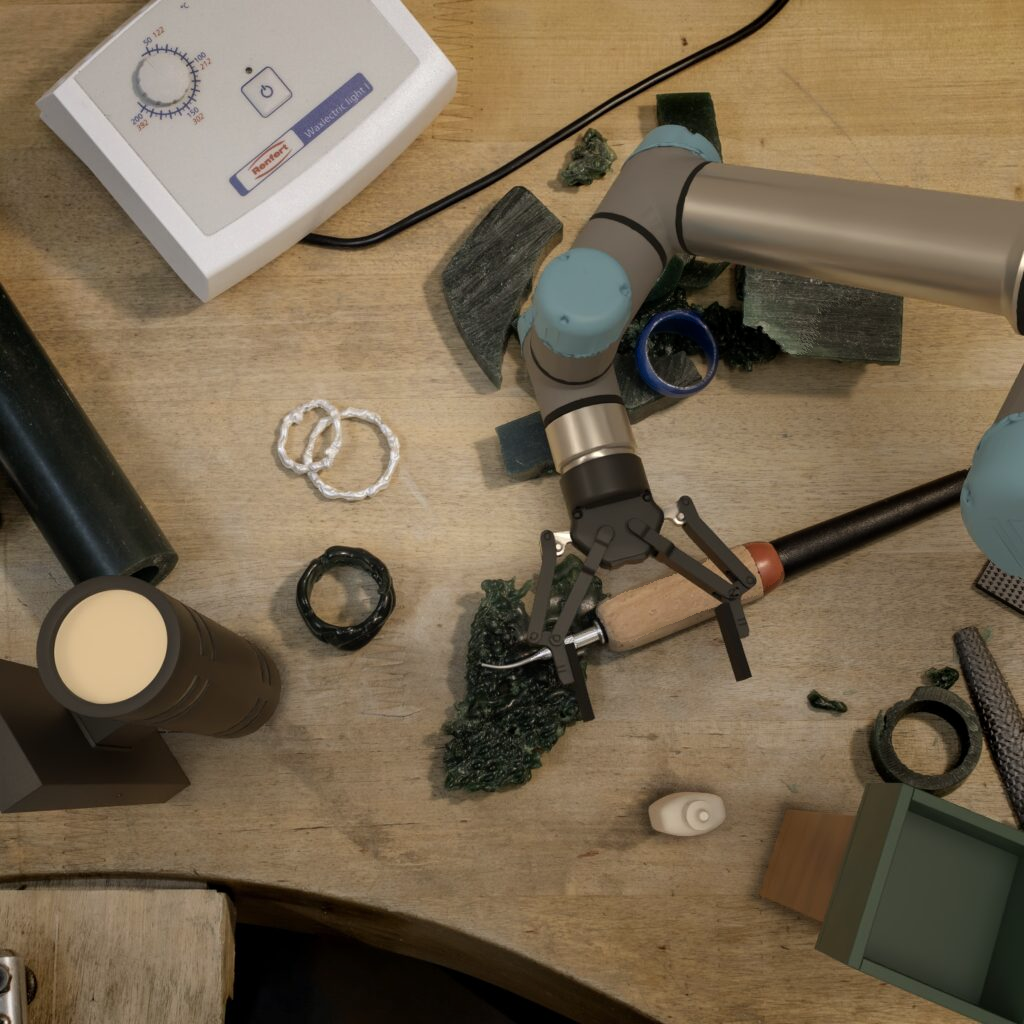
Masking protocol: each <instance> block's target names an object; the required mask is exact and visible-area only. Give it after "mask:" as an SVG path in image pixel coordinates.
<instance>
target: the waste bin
mask: <svg viewBox="0 0 1024 1024" xmlns="http://www.w3.org/2000/svg"><path fill="white" fill-rule="evenodd" d="M855 816H856V818H855V821H854V824H853V827H852V831H851V834H850V837H849V840H848V843H847V846H846V850H845V853H844V856H843V859H842V862H841V866H840V869H839V872H838V875H837V878H836V881H835V885H834V888H833V891H832V894H831V897H830V900H829V904H828V907H827V910H826V913H825V916H824V920H823V922H821V926H820V929H819V933H818V936H817V939H816V941H815V945H814V950H816V951H818V952H820V953H822V954H823V955H826V956H827V957H829V958H832V959H833V960H835V961H837V962H839V963H841V964H843V965H845V966H847V967H849V968H851V969H854V970H856V971H858V972H860V973H863V974H865V975H868V976H870V977H872V978H874V979H877V980H878V981H882V982H884V983H886V984H889V985H891V986H893V987H896V988H898V989H900V990H903V991H905V992H907V993H910V994H912V995H914V996H916V997H919V998H922V999H923V1000H926V1001H928V1002H930V1003H932V1004H935V1005H938V1006H939V1007H942V1008H945V1009H946V1010H949V1011H951V1012H954V1013H956V1014H958V1015H961V1016H964V1017H965V1018H968V1019H969V1020H973V1021H975V1022H977V1023H979V1024H1024V831H1021V830H1018V829H1017V828H1014V827H1012V826H1009V825H1007V824H1004V823H1002V822H1000V821H997V820H995V819H993V818H990V817H987V816H986V815H984V814H980V813H978V812H975V811H973V810H971V809H969V808H966V807H963V806H961V805H959V804H956V803H954V802H951V801H949V800H946V799H944V798H942V797H939V796H937V795H934V794H931V793H929V792H927V791H925V790H922V789H920V788H918V787H914V786H912V785H910V784H907V783H905V782H866V784H865V786H864V789H863V792H862V795H861V799H860V802H859V806H858V809H857V811H856V815H855Z"/></svg>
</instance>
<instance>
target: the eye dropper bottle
mask: <svg viewBox="0 0 1024 1024" xmlns="http://www.w3.org/2000/svg"><path fill="white" fill-rule="evenodd" d="M648 817H649V821H650V826H651V828H652V829H653V830H655V831H657V832H660V833H663V834H667V835H671V836H677V837H694V836H700V835H703V834H707V833H709V832H711V831H713V830H714V829H717V828H718V827H720V825H722V824H723V823H724V822H725V820H726V819H727V813H726V808H725V804H724V800H723V798H722V797H721V796H719V795H717V794H714V793H709V792H699V791H698V792H697V791H680V792H673V793H670V794H667V795H665V796H662V797H660V798H658V799H657V800H655V801H654V802H653V803H651V804H650V805H649V806H648Z"/></svg>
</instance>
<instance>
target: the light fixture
mask: <svg viewBox="0 0 1024 1024" xmlns="http://www.w3.org/2000/svg"><path fill="white" fill-rule="evenodd" d="M35 658H36V666H37V667H36V666H32V665H28V664H24V663H20V662H17V661H16V662H15V661H12V660H9V659H8V660H7V659H4V658H0V813H1V814H2V815H4V814H5V815H6V814H20V813H21V814H22V813H33V812H34V813H35V812H49V811H65V810H79V809H83V810H84V809H95V808H96V809H97V808H113V807H127V806H129V807H130V806H141V805H142V806H143V805H156V804H157V805H159V804H166V803H167V802H168V801H170V800H171V799H172V798H174V797H175V796H177V795H178V794H180V793H182V792H183V791H185V789H187V788H188V787H190V786H191V785H192V783H191V781H190V779H189V778H188V776H187V775H186V772H185V771H184V769H183V768H182V767H181V765H180V763H179V761H178V760H177V759H176V757H175V755H174V753H173V752H172V750H171V749H170V747H169V745H168V744H167V742H166V740H165V739H164V738H163V736H162V734H161V733H160V731H159V729H163V730H164V729H165V730H169V731H175V732H181V733H187V734H194V735H199V736H200V735H201V736H206V737H212V738H217V739H226V740H228V739H229V740H231V739H239V738H244V737H246V736H249V735H251V734H253V733H255V732H256V731H258V730H260V729H261V728H262V727H263V726H264V725H265V724H266V723H267V722H268V721H269V720H270V719H271V717H272V716H273V715H274V714H275V711H276V709H277V707H278V706H279V702H280V698H281V693H282V680H281V674H280V671H279V668H278V666H277V664H276V662H275V661H274V660H273V658H272V657H271V656H270V654H269V653H268V652H267V651H265V650H264V649H263V648H262V647H260V646H258V645H256V644H255V643H253V642H251V641H250V640H248V639H246V638H244V637H243V636H241V635H239V634H237V633H235V632H234V631H232V630H231V629H229V628H227V627H225V626H224V625H222V624H221V623H218V622H217V621H215V620H213V619H212V618H209V617H208V616H206V615H205V614H203V613H201V612H199V611H198V610H196V609H194V608H192V607H191V606H189V605H187V604H185V603H184V602H182V601H180V600H179V599H177V598H175V597H173V596H171V595H170V594H168V593H167V592H165V591H162V589H159V588H157V587H156V586H155V585H153V584H151V583H149V582H147V581H145V580H143V579H141V578H139V577H134V576H131V575H125V574H106V575H101V576H100V575H98V576H95V577H92V578H89V579H87V580H84V581H82V582H79V583H78V584H76V585H74V586H73V587H71V588H70V589H68V590H67V591H66V592H65V593H63V594H62V595H61V596H60V597H59V598H58V599H57V600H56V601H55V602H54V604H53V605H52V606H51V607H50V609H49V610H48V612H47V613H46V615H45V617H44V619H43V621H42V624H41V626H40V628H39V632H38V634H37V639H36V647H35Z"/></svg>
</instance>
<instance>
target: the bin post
mask: <svg viewBox="0 0 1024 1024" xmlns="http://www.w3.org/2000/svg"><path fill="white" fill-rule="evenodd" d="M855 818H856V815H854V814H843V813H831V812H821V811H811V810H801V809H799V810H798V809H788V808H787V809H786V811H785V813H784V817H783V820H782V823H781V826H780V829H779V831H778V832H779V833H778V835H777V838H776V842H775V843H774V848H773V850H772V854H771V855H770V859H769V863H768V865H767V867H766V871H765V875H764V877H763V881H762V883H761V887H760V889H759V892H758V896H761V897H763V898H764V899H767V900H770V901H772V902H775V903H776V904H779V905H782V906H783V907H786V908H788V909H791V910H793V911H795V912H798V913H800V914H803V915H805V916H807V917H809V918H812V919H814V920H816V921H819V922H821V923H823V920H824V916H825V913H826V910H827V907H828V904H829V900H830V897H831V894H832V891H833V888H834V885H835V881H836V878H837V875H838V872H839V869H840V866H841V862H842V859H843V856H844V853H845V850H846V846H847V843H848V840H849V837H850V834H851V831H852V827H853V824H854V821H855Z"/></svg>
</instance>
